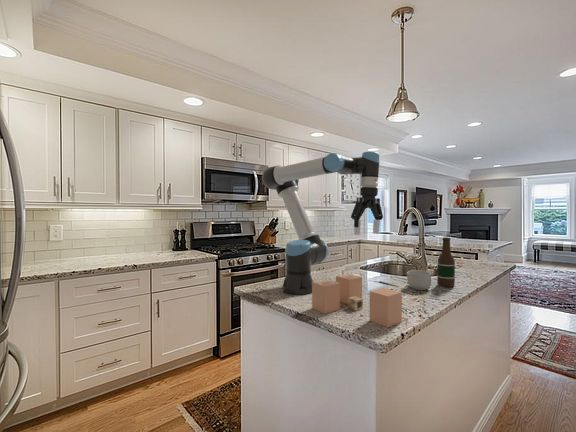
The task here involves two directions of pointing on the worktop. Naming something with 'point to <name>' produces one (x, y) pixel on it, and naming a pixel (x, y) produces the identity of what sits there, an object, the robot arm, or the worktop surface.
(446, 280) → the beer bottle
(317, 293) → the peach colored cube
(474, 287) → the worktop surface
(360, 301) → the beige cube
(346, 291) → the smooth terracotta cube
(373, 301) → the tan peach cube
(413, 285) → the teacup
